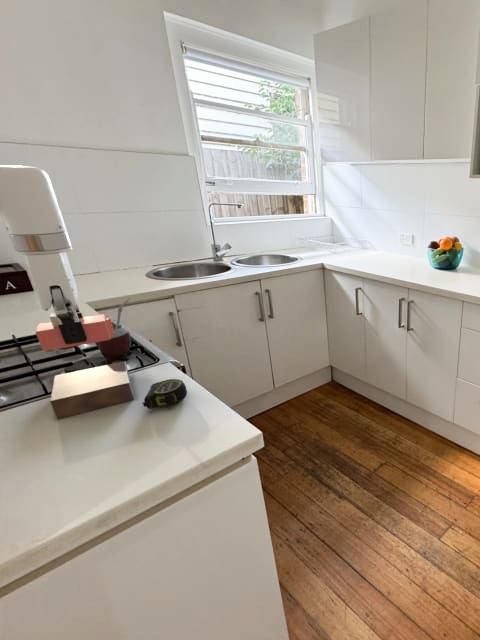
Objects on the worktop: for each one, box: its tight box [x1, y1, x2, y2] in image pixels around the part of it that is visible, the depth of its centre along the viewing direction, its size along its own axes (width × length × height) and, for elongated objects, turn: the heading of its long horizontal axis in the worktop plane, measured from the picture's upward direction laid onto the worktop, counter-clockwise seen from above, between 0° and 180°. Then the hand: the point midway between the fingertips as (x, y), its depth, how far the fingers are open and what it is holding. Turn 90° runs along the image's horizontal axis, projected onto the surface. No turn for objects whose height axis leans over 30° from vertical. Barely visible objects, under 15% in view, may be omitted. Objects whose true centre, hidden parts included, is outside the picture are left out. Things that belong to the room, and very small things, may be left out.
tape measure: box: [141, 378, 188, 410], centre depth 78 cm, size 7×7×4 cm
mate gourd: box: [94, 297, 133, 364], centre depth 93 cm, size 8×8×15 cm
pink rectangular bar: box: [35, 310, 115, 352], centre depth 74 cm, size 11×5×6 cm, turn 128°
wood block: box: [49, 360, 135, 420], centre depth 79 cm, size 12×12×4 cm
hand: (76, 336), depth 74 cm, fingers closed on pink rectangular bar, 4 cm apart
